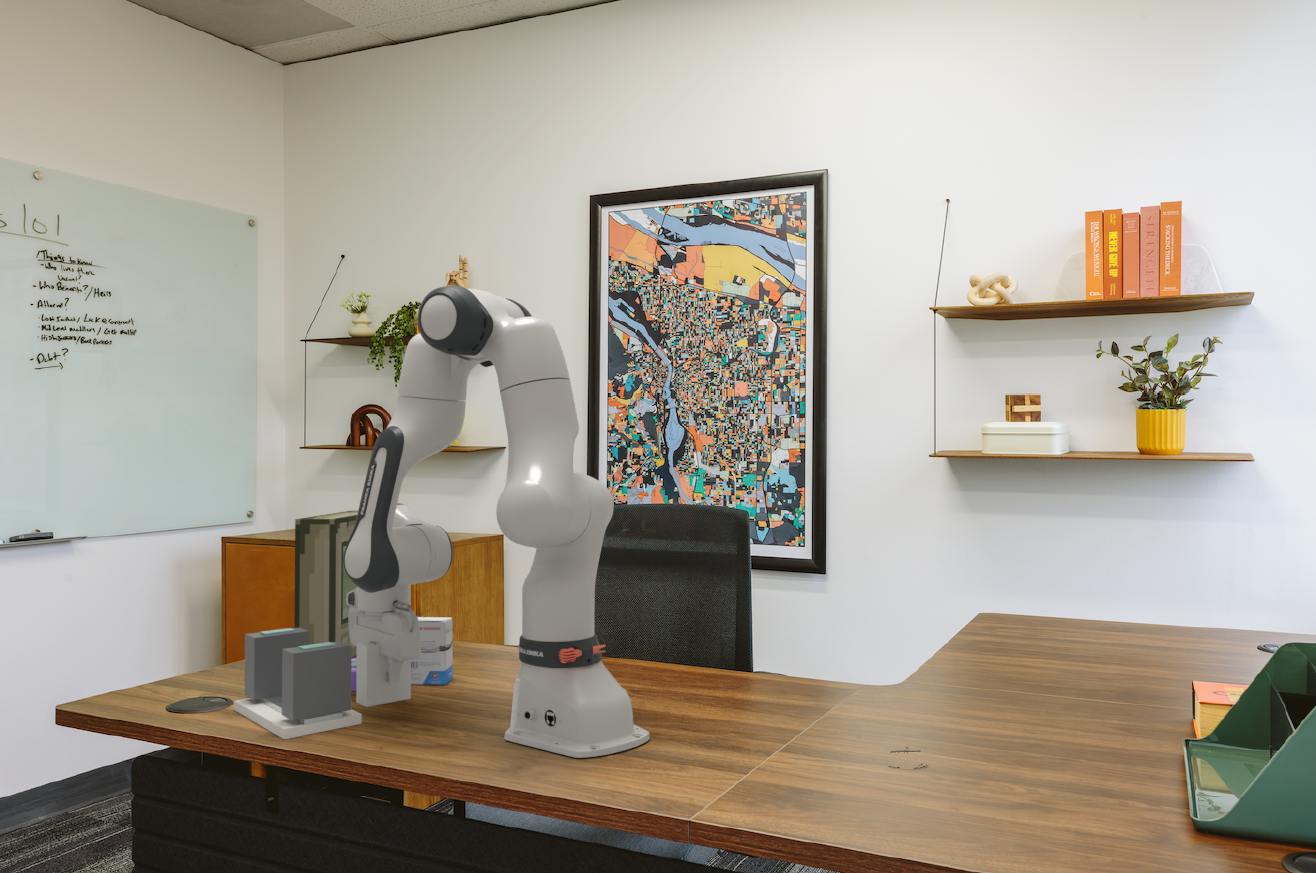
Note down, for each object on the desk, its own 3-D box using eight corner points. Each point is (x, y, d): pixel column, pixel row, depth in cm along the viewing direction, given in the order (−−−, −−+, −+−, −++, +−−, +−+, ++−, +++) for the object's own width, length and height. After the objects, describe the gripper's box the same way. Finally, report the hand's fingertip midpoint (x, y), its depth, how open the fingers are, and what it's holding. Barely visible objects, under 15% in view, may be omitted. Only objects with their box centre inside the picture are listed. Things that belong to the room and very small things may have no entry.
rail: (343, 717, 143) (343, 712, 143) (304, 725, 139) (304, 719, 139) (288, 691, 159) (289, 686, 159) (252, 697, 155) (252, 692, 155)
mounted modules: (351, 710, 145) (351, 643, 145) (293, 721, 139) (293, 651, 139) (298, 685, 160) (299, 625, 160) (244, 694, 154) (245, 632, 154)
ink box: (453, 679, 175) (454, 616, 175) (445, 685, 170) (445, 620, 170) (409, 678, 176) (410, 615, 176) (399, 684, 171) (400, 620, 171)
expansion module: (410, 698, 161) (410, 639, 161) (366, 707, 155) (367, 645, 155) (399, 694, 164) (400, 635, 164) (356, 702, 158) (356, 641, 158)
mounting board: (361, 723, 145) (361, 714, 145) (284, 739, 137) (284, 729, 137) (306, 697, 161) (306, 688, 161) (233, 709, 153) (234, 700, 153)
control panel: (333, 678, 176) (334, 519, 176) (294, 678, 176) (295, 519, 176) (384, 646, 206) (384, 510, 206) (350, 646, 206) (351, 510, 206)
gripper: (430, 602, 154) (430, 686, 154) (375, 590, 169) (375, 666, 169) (395, 607, 150) (394, 693, 150) (341, 593, 165) (341, 672, 165)
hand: (383, 679), depth 159 cm, fingers open, 5 cm apart
